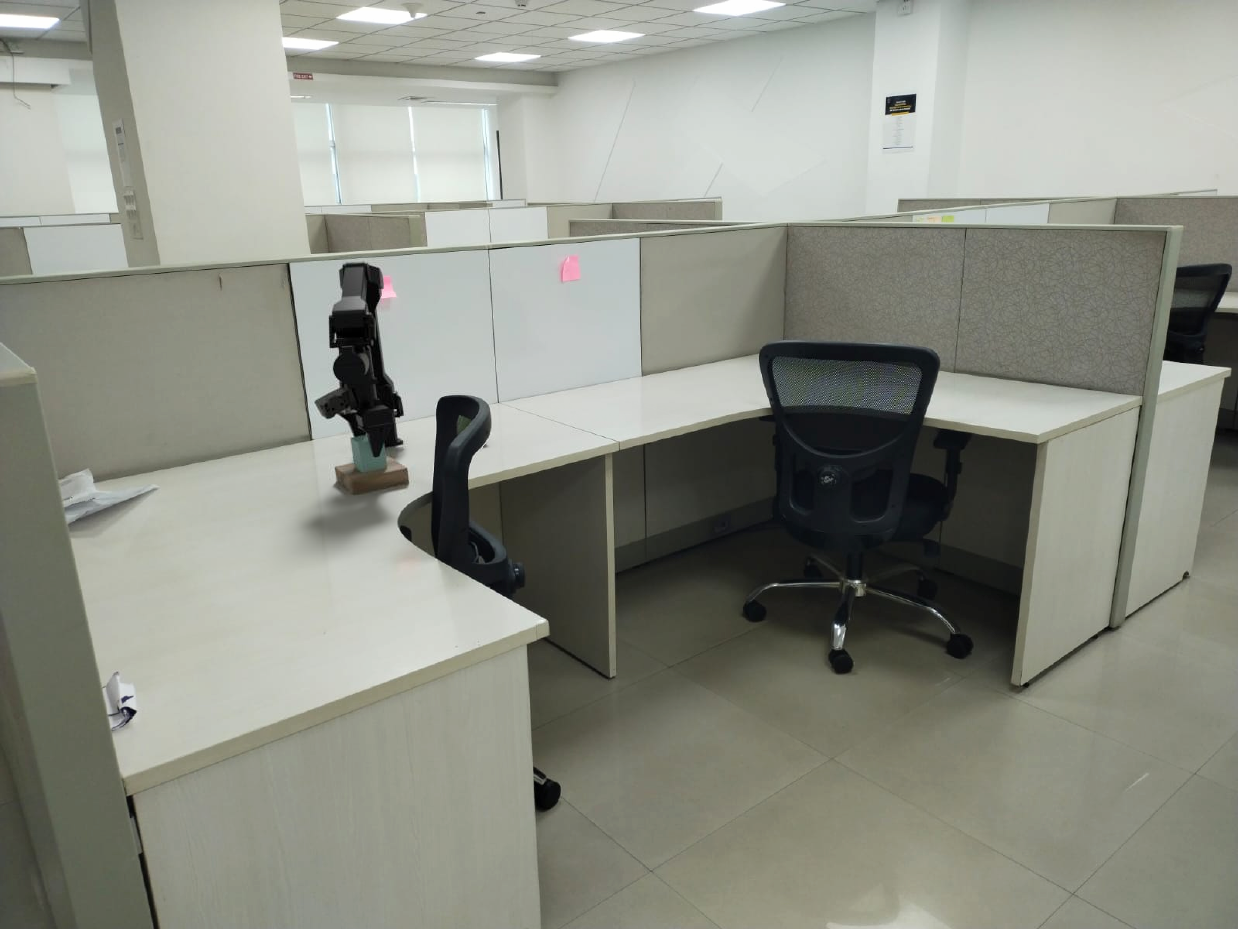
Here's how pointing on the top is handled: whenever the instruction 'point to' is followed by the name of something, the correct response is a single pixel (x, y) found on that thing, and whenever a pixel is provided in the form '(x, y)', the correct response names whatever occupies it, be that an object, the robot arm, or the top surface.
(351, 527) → the top surface
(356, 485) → the walnut base
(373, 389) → the robot arm
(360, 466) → the teal block
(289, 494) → the top surface
